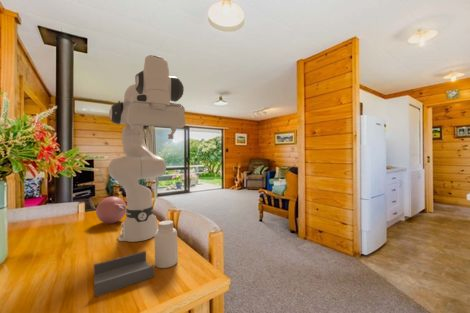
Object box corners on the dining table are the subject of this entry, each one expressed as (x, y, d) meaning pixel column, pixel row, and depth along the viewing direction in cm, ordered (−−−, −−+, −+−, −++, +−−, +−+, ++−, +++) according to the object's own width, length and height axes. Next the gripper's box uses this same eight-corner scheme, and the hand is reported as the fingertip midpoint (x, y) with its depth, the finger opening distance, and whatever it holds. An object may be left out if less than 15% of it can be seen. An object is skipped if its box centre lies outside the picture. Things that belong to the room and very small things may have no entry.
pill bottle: (169, 255, 82) (169, 217, 82) (182, 262, 77) (181, 221, 77) (150, 263, 76) (150, 223, 76) (162, 271, 71) (162, 227, 71)
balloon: (108, 230, 109) (107, 201, 109) (91, 224, 121) (91, 197, 121) (136, 222, 122) (135, 196, 122) (118, 217, 133) (118, 193, 133)
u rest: (94, 275, 69) (94, 264, 69) (145, 260, 78) (145, 251, 78) (94, 296, 59) (94, 284, 59) (153, 277, 68) (153, 266, 68)
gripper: (181, 106, 85) (182, 139, 85) (125, 99, 73) (126, 138, 73) (187, 102, 80) (188, 138, 80) (127, 94, 68) (128, 137, 68)
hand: (158, 138), depth 76 cm, fingers open, 8 cm apart
